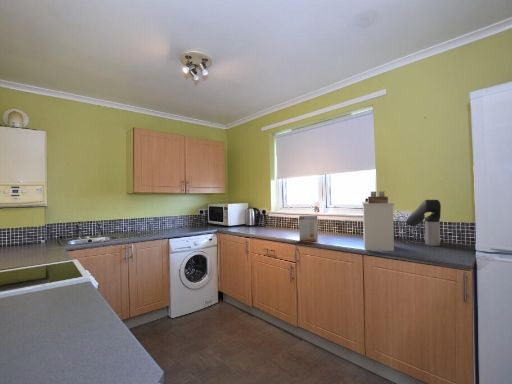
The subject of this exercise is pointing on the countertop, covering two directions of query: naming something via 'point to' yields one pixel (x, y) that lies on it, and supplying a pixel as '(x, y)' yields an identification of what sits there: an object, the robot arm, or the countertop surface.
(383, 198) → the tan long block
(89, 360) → the countertop surface
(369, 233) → the cabinet
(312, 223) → the cracker box
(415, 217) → the robot arm
